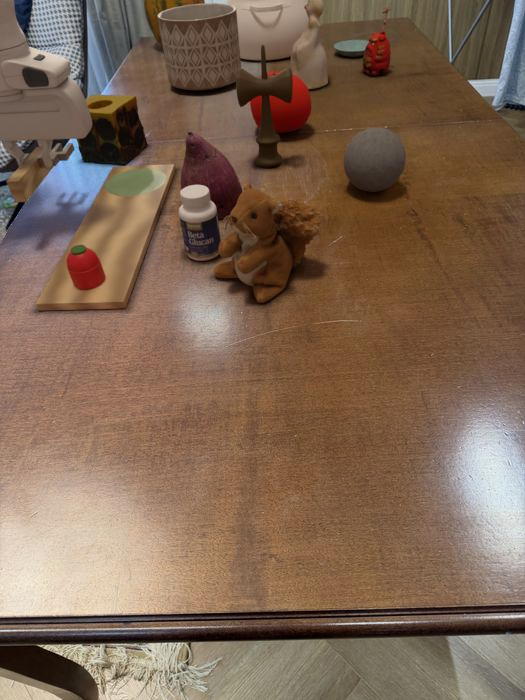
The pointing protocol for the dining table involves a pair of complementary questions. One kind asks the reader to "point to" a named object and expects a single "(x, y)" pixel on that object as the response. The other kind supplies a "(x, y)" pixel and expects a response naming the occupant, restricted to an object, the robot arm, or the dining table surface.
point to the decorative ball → (374, 159)
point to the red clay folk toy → (377, 52)
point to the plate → (135, 174)
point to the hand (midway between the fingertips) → (37, 167)
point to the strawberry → (85, 268)
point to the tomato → (286, 107)
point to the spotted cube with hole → (112, 130)
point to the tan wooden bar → (35, 172)
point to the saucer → (351, 47)
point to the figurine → (310, 51)
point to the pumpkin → (157, 3)
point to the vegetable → (210, 173)
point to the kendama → (265, 106)
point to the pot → (269, 27)
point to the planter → (200, 45)
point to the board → (110, 245)
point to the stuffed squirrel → (266, 241)
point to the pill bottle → (199, 223)
